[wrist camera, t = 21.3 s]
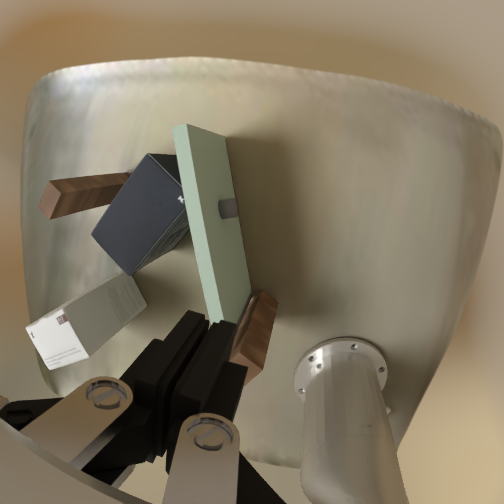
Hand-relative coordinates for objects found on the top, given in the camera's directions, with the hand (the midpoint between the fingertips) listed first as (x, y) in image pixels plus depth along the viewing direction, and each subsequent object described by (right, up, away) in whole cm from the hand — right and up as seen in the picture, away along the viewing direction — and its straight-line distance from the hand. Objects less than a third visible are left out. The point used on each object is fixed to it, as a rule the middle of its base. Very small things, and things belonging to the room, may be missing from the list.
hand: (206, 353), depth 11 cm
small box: (-7, +9, +27) cm, 30 cm away
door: (0, +7, +26) cm, 27 cm away
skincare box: (-17, -3, +32) cm, 36 cm away
